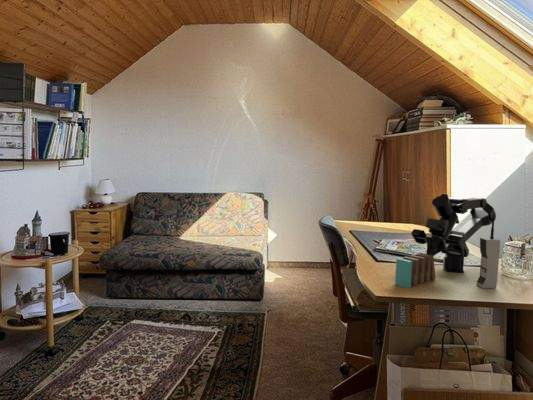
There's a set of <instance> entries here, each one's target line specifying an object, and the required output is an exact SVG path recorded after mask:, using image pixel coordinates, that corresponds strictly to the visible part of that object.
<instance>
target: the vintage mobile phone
mask: <svg viewBox="0 0 533 400" xmlns="http://www.w3.org/2000/svg"><path fill="white" fill-rule="evenodd" d="M494 218H495V215H493V217H492V224H491V228H490V237H479V252H480V265H479V266H480V268H479V277H478V278H477V280H476V282H475V283H476V286H477V287H480V288H481V289H496V288H497V286H498V285H497V283H498V277H499V276H498V274H499V262H500V261H499V260H500V252H501V251H500V250H501V249H500V248H501V240H500V239H498V238H495V237H494V234H495V221H494Z"/></svg>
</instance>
